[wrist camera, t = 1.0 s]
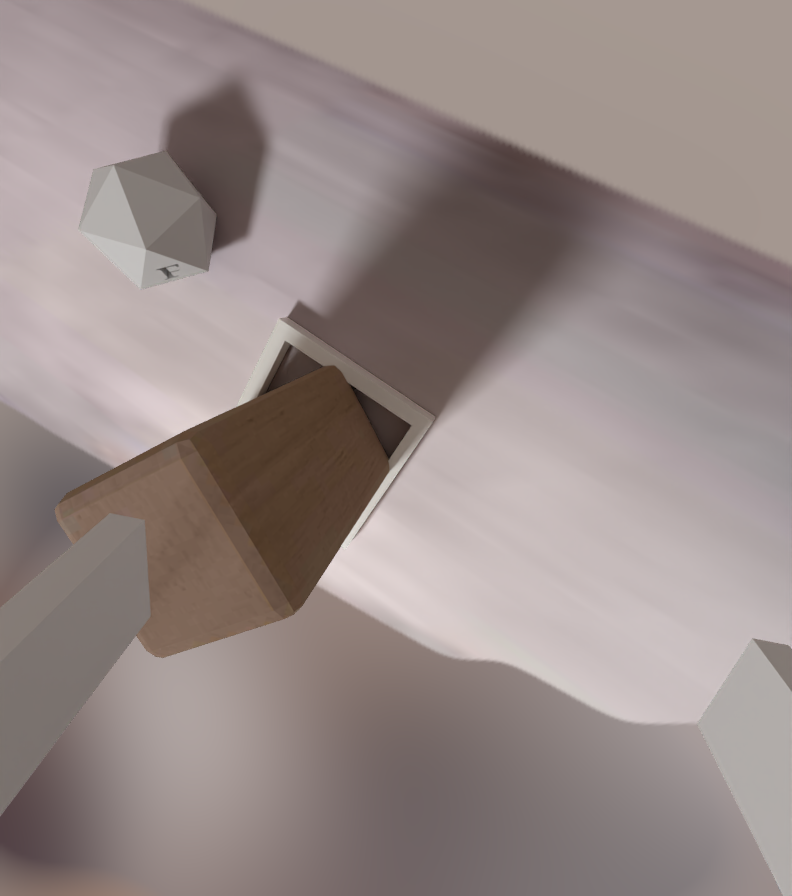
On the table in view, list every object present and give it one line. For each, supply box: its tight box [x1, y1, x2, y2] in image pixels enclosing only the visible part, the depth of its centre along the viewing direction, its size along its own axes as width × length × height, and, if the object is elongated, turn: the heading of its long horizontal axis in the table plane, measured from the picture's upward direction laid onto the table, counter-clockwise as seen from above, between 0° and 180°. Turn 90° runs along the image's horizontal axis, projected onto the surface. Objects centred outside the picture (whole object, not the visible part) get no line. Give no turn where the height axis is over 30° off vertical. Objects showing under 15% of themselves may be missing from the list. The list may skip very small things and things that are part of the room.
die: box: [78, 151, 217, 290], centre depth 35 cm, size 8×9×10 cm
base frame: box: [236, 317, 436, 549], centre depth 41 cm, size 14×14×2 cm
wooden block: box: [55, 365, 390, 658], centre depth 32 cm, size 10×10×20 cm
